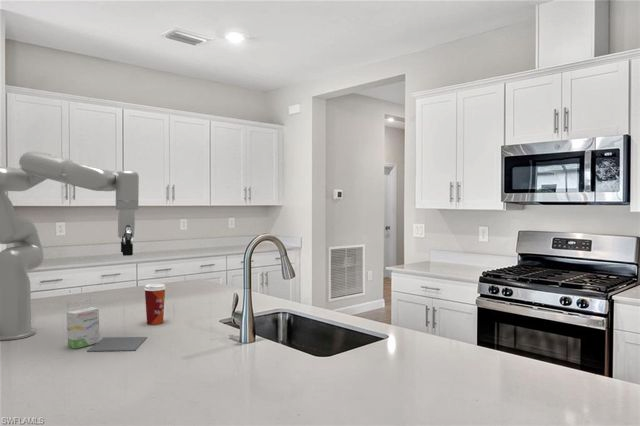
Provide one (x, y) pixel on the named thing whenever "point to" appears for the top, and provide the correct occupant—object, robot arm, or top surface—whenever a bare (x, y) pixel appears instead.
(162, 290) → the coffee cup
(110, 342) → the mat
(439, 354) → the top surface
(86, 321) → the ink box
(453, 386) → the top surface
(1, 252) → the robot arm
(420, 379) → the top surface
